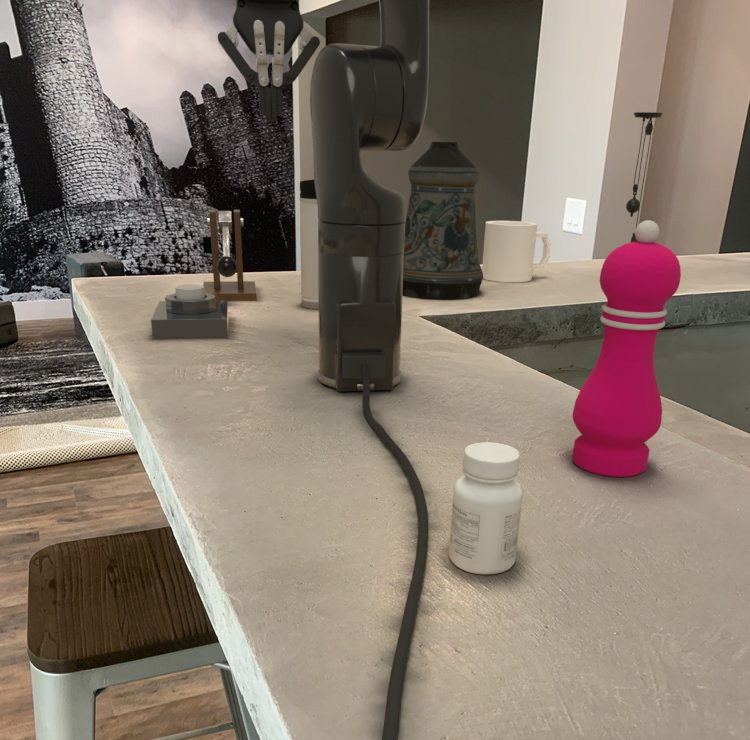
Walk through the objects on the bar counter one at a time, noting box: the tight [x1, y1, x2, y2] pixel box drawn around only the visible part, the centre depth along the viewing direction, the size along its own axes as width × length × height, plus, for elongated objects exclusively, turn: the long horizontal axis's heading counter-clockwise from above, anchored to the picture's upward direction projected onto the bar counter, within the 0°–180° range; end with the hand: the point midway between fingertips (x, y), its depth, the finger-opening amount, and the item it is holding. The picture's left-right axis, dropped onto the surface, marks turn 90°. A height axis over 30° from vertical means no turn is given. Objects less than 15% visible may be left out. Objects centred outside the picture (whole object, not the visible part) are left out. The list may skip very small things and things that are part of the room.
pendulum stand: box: [202, 208, 258, 302], centre depth 131 cm, size 12×9×14 cm
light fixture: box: [625, 111, 664, 242], centre depth 163 cm, size 10×8×31 cm
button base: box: [150, 292, 230, 340], centre depth 109 cm, size 13×10×4 cm
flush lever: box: [217, 210, 237, 278], centre depth 125 cm, size 14×3×3 cm
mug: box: [481, 220, 552, 283], centre depth 155 cm, size 14×10×11 cm
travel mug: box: [299, 179, 319, 310], centre depth 122 cm, size 6×7×20 cm
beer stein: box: [402, 141, 483, 300], centre depth 137 cm, size 16×19×25 cm
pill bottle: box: [448, 441, 524, 575], centre depth 49 cm, size 4×4×8 cm
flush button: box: [174, 283, 205, 300], centre depth 107 cm, size 4×4×2 cm
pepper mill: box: [571, 219, 682, 478], centre depth 62 cm, size 7×7×20 cm
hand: (271, 120), depth 97 cm, fingers closed
